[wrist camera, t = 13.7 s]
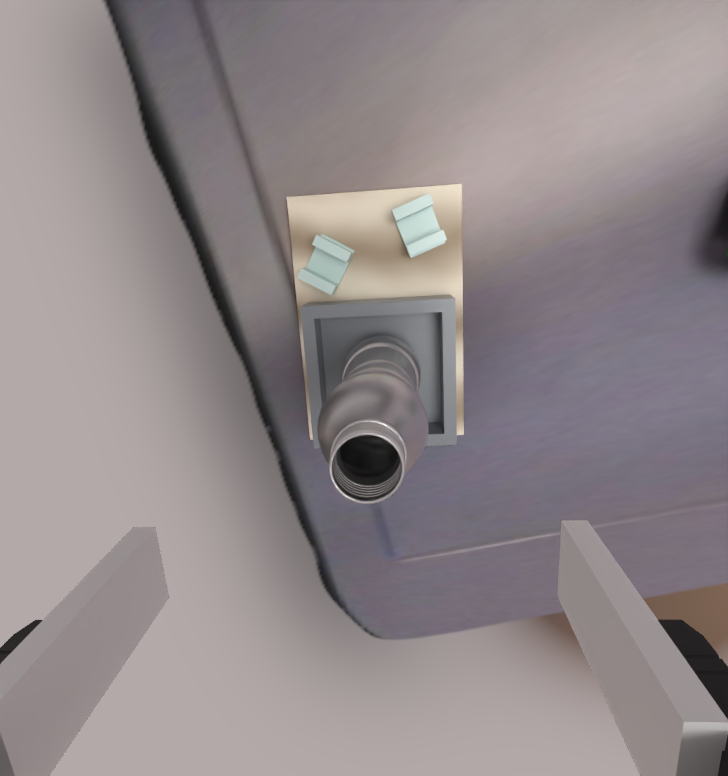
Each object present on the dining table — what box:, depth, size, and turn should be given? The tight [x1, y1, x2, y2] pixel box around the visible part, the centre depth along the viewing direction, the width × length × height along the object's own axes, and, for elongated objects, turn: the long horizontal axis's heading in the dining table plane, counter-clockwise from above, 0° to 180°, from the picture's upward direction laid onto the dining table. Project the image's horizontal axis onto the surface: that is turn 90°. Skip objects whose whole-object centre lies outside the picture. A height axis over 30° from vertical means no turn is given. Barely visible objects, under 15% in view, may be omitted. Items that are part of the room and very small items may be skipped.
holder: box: [300, 295, 457, 449], centre depth 40 cm, size 12×12×4 cm
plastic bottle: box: [317, 336, 428, 504], centre depth 32 cm, size 6×7×20 cm
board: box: [287, 184, 464, 440], centre depth 41 cm, size 21×14×1 cm, turn 3°
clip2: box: [297, 234, 355, 295], centre depth 39 cm, size 4×3×3 cm
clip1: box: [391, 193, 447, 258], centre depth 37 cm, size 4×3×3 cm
